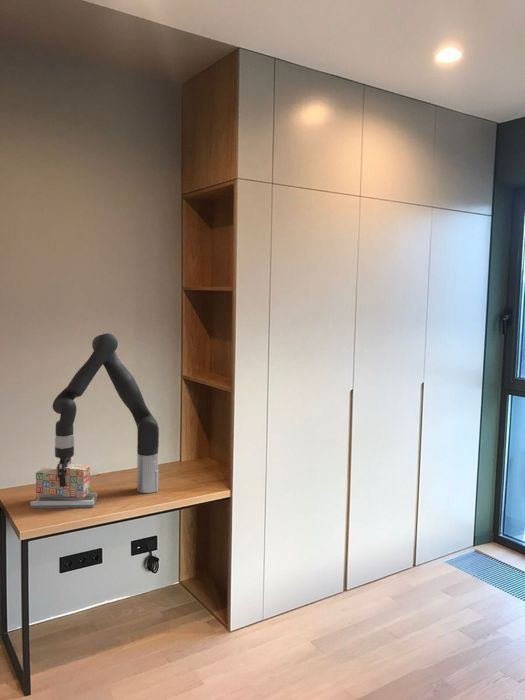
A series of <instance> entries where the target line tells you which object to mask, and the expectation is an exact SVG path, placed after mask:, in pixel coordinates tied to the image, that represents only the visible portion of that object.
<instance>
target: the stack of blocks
mask: <svg viewBox="0 0 525 700" xmlns="http://www.w3.org/2000/svg"><path fill="white" fill-rule="evenodd" d="M64 470H67V472H66V477H65V487H60V478H58V466H56V467H55V468H46V467H42V468H41V469H39V470H37V471H36V472H35V487H36V488H35V493H36V494H37V493H39V494H48V495H58V496H68V497H77V498H84V497H85V496H86V495H88V494H89V493H91V465H87V464H81V463H71V464H69V466H68V467H67V468H66V467H65V468H64ZM61 475H63V473H61Z"/></svg>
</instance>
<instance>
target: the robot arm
mask: <svg viewBox="0 0 525 700" xmlns="http://www.w3.org/2000/svg"><path fill="white" fill-rule="evenodd" d="M118 342H119V341H118V339H117V337H116V336H115V335H114V334H112V333H102V334H99V335H96V336H95V337H94V338H93V339H92V342H91V346H92V350H93V352H92V353H91V355H90V356H89V357H88V359H87V361H86V362H85V363H84V364H83V365H82V366H81V367H80V368H79V369H78V370H77V372H76V373H75V374H74V376H73V377H72V379H71V380H70V382H69V383H68V385H67V386H66V387H65V388H64V389H63V390H62V391H61V392H60V393H59V394H58V395H57V396H56V397H55V399H54V400H53V402H52V410H53V411H54V412H55V413H56V414H59V420H57V421H56V422H55V435H54V436H55V438H54V456H55V458H57V459H59V461H58V463H57V466H58V478H60V487H65V477H66V472H67V470H64V468H65V467H66V468H67V467H68V466H69V464H72V457H74V456H75V438H74V437H75V436H74V424H75V420H76V415H77V405H76V402H75V401H74V400H75V399H76V398H80V397H81V396H83V394H84V393H85V391H86V390H87V388H88V387H89V385H90V383H91V382H92V381H93V379H94V377H95V376H96V374H97V372H98V371H99V370H100V369H101V367H102V366H103V367H104V369H105V370H106V372H107V376H109V379H110V381H111V383H112V385H113V387H114V389H115V391H116V393H117V395H118V397H119V398H120V399H121V401H122V403H124V405H125V406H126V408H127V409H128V410H129V411H130V414H131V415H132V417H133V419H134V422H135V424H136V427H137V447H136V448H137V450H136V451H137V453H136V461H137V463H136V466H137V467H136V471H137V472H136V483H137V484H136V491H137V492H138V493H140V494H153V493H157V492H158V489H159V447H160V446H159V443H160V442H159V441H160V440H159V438H160V432H159V431H160V430H159V429H160V427H159V423H158V422H157V420H156V419H155V417H154V416H153V414H152V413H151V411H150V410H149V408H148V407H147V405H146V402H145V400H144V397H143V395H142V392H141V390H140V388H139V386H138V384H137V381H136V379H135V378H134V376H133V375H132V373H131V372H130V371H129V370H128V369H127V367H126V366H125V365H124V364H123V363H122V362H121V361H120V358H119V357H118V355H117V353H116V350H117V349H118V344H119V343H118ZM57 466H56V467H57ZM61 473H63V475H61Z"/></svg>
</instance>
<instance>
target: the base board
mask: <svg viewBox="0 0 525 700" xmlns="http://www.w3.org/2000/svg"><path fill="white" fill-rule="evenodd" d="M97 500H98V492H90V493H89V494H88V495H86V496H85V497H84V498H77V497H68V496H58V495H48V494H39V493H36V498H35V499H34V500H31V501H30V509H68V508H69V509H77V508H78V507H79V509H80V508H81V509H82V508H85V509H86V508H94V506H95V504H96V503H97ZM70 507H71V508H70ZM74 507H75V508H74Z"/></svg>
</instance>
